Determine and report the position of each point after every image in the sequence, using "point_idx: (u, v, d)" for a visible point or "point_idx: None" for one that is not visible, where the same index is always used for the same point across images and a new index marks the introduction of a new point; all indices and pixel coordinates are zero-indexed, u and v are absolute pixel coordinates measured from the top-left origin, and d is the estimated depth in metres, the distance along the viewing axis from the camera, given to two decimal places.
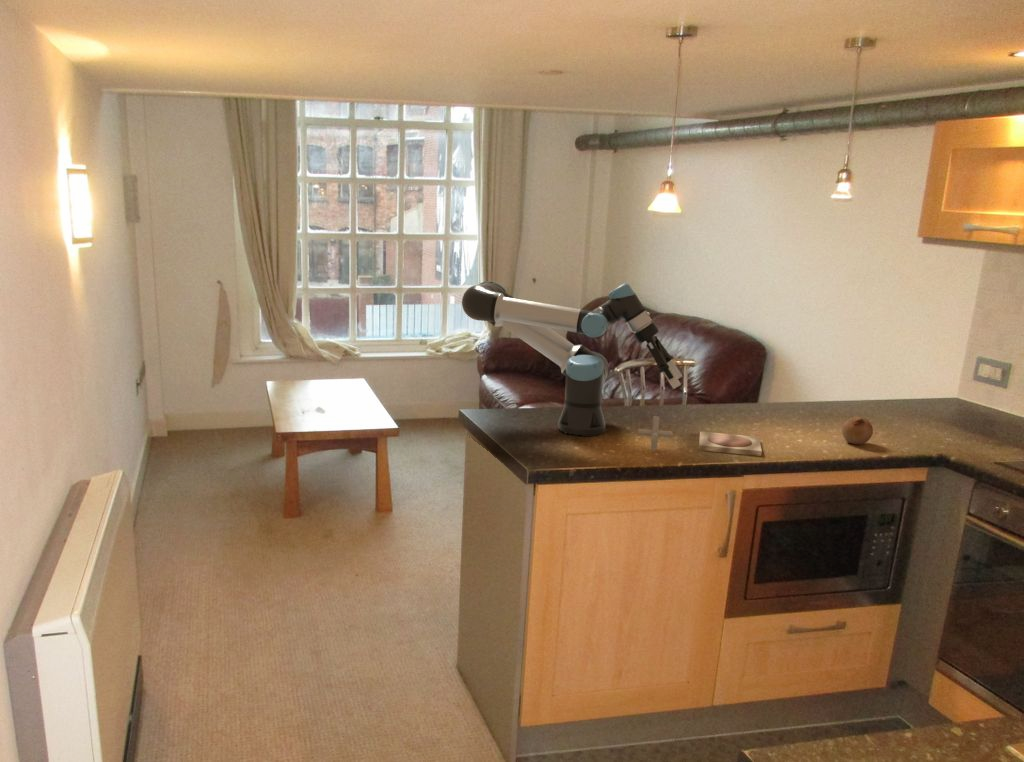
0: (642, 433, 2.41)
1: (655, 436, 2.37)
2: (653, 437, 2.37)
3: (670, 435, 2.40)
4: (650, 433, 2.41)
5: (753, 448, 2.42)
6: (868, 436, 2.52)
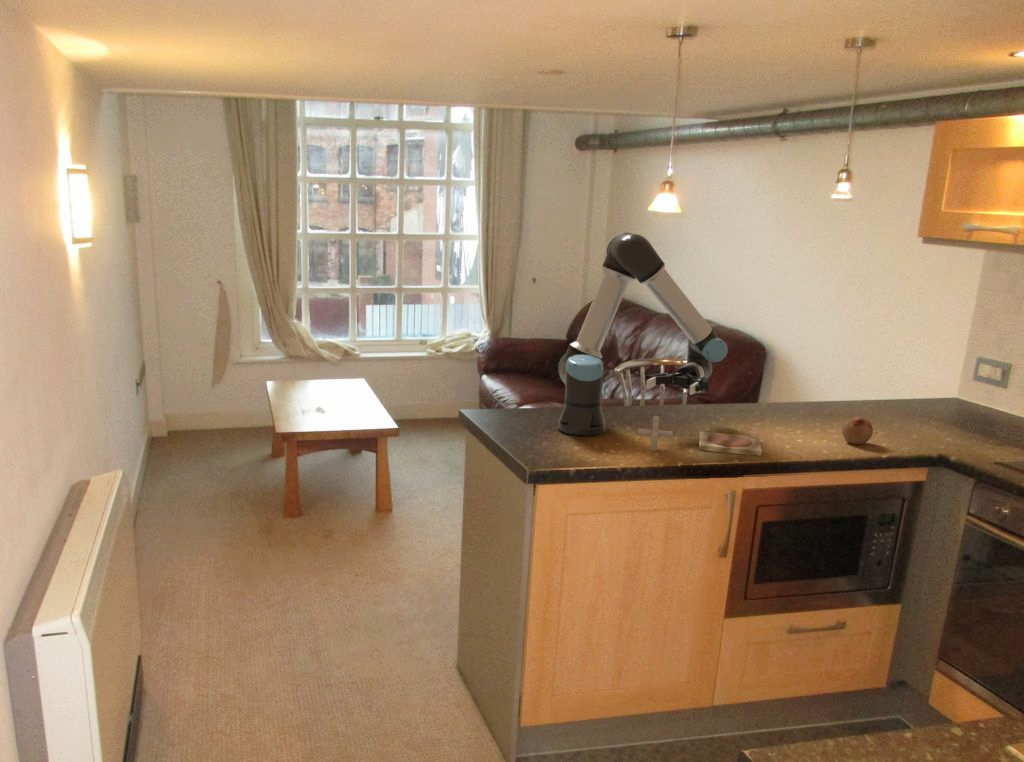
0: (642, 433, 2.41)
1: (655, 436, 2.37)
2: (653, 437, 2.37)
3: (670, 435, 2.40)
4: (650, 433, 2.41)
5: (753, 448, 2.42)
6: (868, 436, 2.52)
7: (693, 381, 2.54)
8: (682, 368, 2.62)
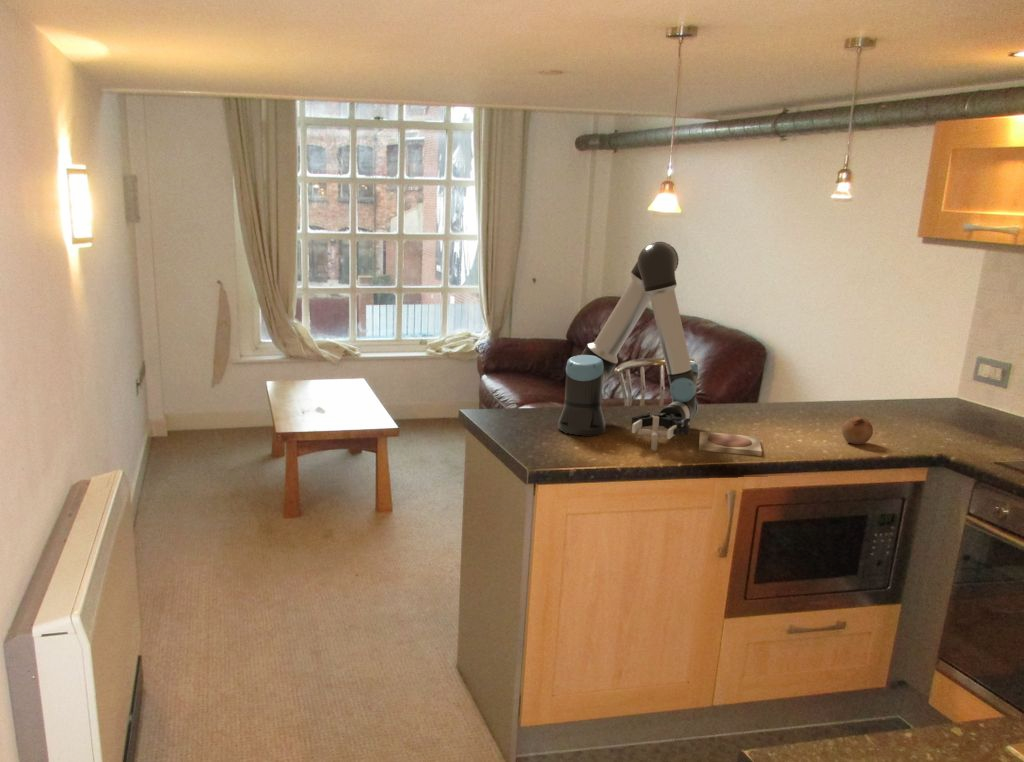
0: (642, 433, 2.41)
1: (655, 436, 2.37)
2: (653, 437, 2.37)
3: None
4: (650, 433, 2.41)
5: (753, 448, 2.42)
6: (868, 436, 2.52)
7: (674, 423, 2.45)
8: (666, 408, 2.53)
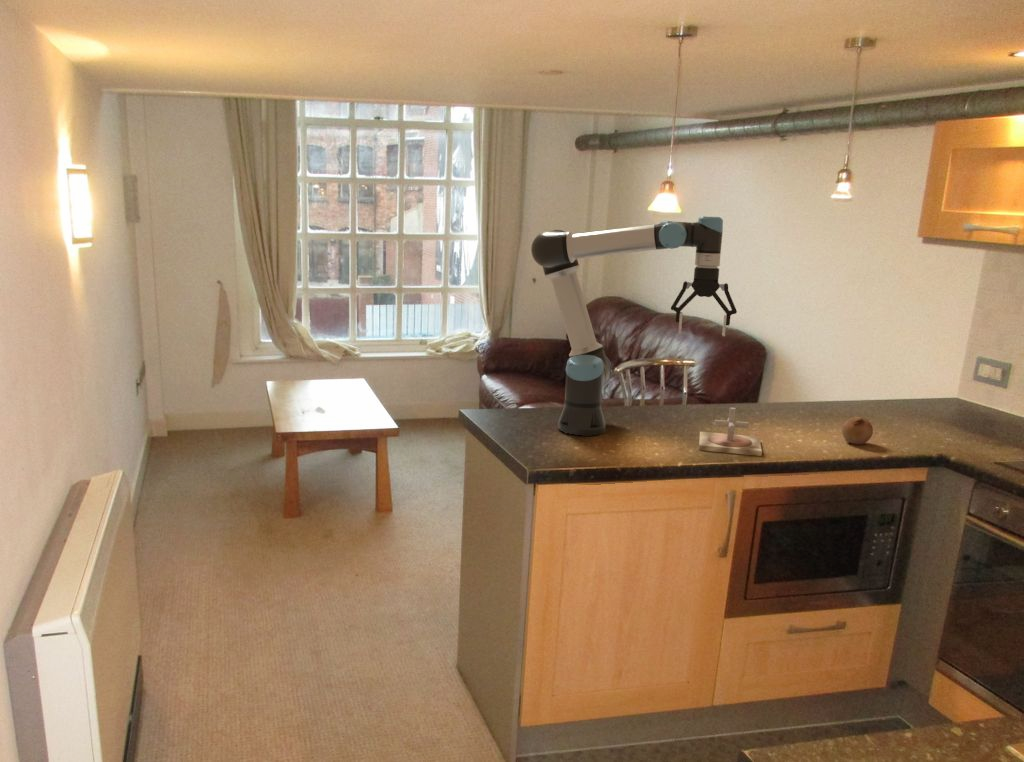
0: (718, 424, 2.48)
1: (733, 427, 2.43)
2: (731, 428, 2.43)
3: (746, 426, 2.46)
4: (726, 424, 2.47)
5: (753, 448, 2.42)
6: (868, 436, 2.52)
7: None
8: None
